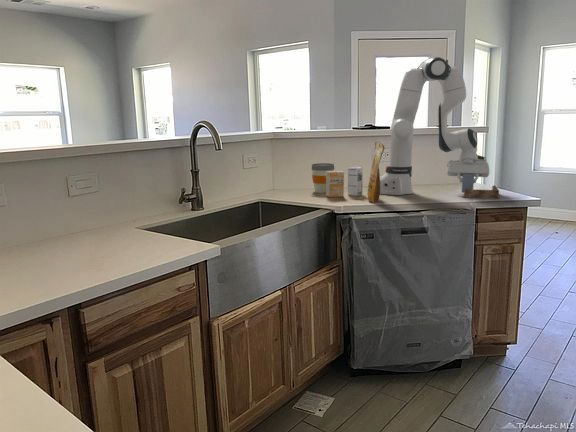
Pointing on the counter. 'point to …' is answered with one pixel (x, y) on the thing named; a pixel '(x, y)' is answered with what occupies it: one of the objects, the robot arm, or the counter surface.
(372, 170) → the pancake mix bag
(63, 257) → the counter surface
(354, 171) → the syrup box
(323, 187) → the reusable coffee cup
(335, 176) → the supplement box
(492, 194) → the brown wooden tray
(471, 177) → the slate block
